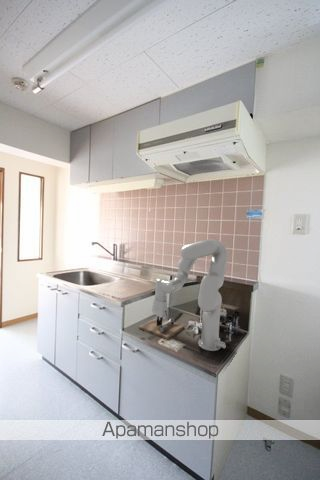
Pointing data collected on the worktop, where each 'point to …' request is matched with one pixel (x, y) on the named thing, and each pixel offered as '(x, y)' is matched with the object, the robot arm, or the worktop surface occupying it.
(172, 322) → the bar
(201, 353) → the worktop surface
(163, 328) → the block
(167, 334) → the lock board
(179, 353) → the worktop surface
